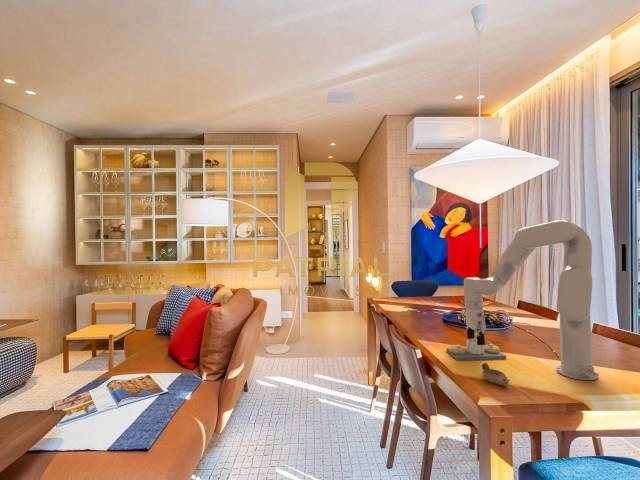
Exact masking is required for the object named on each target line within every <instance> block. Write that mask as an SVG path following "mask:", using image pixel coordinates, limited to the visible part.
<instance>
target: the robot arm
mask: <svg viewBox="0 0 640 480" xmlns="http://www.w3.org/2000/svg"><path fill="white" fill-rule="evenodd" d="M560 243H561V244H562V245H563V262H562V263H563V265H562V271H561V272H560V275H559V281H558V290H557V291H558V292H557V293H558V294H557V304H556V305H557V306H556V307H557V312H558V313H559V340H560V341H559V342H560V343H559V347H560V365H557V366H556V372H557V373H559V374H560V375H562V376H564V377H567V378H571V379H575V380H581V381H594V380H597V379H598V378H599V375H600V374H599V373H598V372H596V371H595V367H594V366H593V357H592V355H593V353H592V350H593V349H592V330H591V329H592V327H591V326H592V325H591V324H592V322H591V321H592V320H591V305H592V304H591V303H592V295H593V294H592V293H593V276H592V263H593V262H592V260H593V258H592V257H593V245H592V244H593V243H592V240H591V239H590V236H589V235H588V233H587V232H586V231H585V230H584V229H583V228H582V227H580V226H579V225H577V224H575V223H573V222H571V221H569V220H566V219H558V220H553V221H550V222H546V223H540V224H537V225H531V226H527V227H522V228H519V229H518V230H517V231H516V232H515V234H514V238H513V239H512V242H510V244H509V245H508V246H507V247H506V248H505V250H504V251H503V253H501V255H500V258H499V262H498V264H497V266H496V267H495V268H494V270H493V271H492V273H490V275H489V276H488V277H486V278H480V277H475V276H473V277H471V276H470V277H465V278H464V279H463V295H464V309H465V327H466V335H467V336H466V337H467V340H469V339H473V338H475V332H476V339H477V345H484V346H485V345H486V341H485V335H486V330H487V329H486V328H487V326H486V319H485V313H484V309H483V308H484V304H483V303H484V302H483V301H484V299H483V295H485V296H494V295H496V294H498V293H499V292H501V291H502V289H504V288H505V286H506V285H507V284H508V282H509V281H510V280H511V279H512V277H513V276H514V275H515V274H516V272H517V271H518V270H519V269H520V268H521V266H523V265H524V264H525V262H526V260H527V259H528V258H529V257H530V256H531V254H532V253H533V252H534V251H535V249H536V248H540V247H544V246H545V247H547V246H549V245H557V244H560Z"/></svg>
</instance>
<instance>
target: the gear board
mask: <svg viewBox="0 0 640 480" xmlns="http://www.w3.org/2000/svg"><path fill="white" fill-rule="evenodd" d="M473 342H477V337H476V338H473ZM446 352H447V353H448V354H449V355H450V356H451V357H452V358H453V359H454V360H456V361H458V362H459V360H460V361H489V360H490V361H492V360H507V355H506V354H504V353H503V352H501V351H500V347H499V346H497V345H494V343H491V341H490V340H488V341H487V344H485V345H484V354H471V353H469V352H467V347H465V346H462V345H461V344H456V345H453V346H452V345H451V347H447V348H446Z"/></svg>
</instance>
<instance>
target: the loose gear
mask: <svg viewBox="0 0 640 480" xmlns="http://www.w3.org/2000/svg"><path fill="white" fill-rule="evenodd" d="M484 346H485V345H477V342H473V339H466V348H467V352H469V353H471V354H484Z"/></svg>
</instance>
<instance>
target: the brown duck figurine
mask: <svg viewBox="0 0 640 480" xmlns="http://www.w3.org/2000/svg"><path fill="white" fill-rule="evenodd" d="M481 368H482V375H483V378H484V380H486V381H487V382H489V383H493V384H495V385H498V386H502V387H505V386H507V385H508V384H509V383H510V379H507V378H508V376H506V374H505V373H504V372H502V371H500V370H497V369H495V368H494V369H492V368H490V366H489V364H488V363H487V362H482V364H481Z"/></svg>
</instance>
